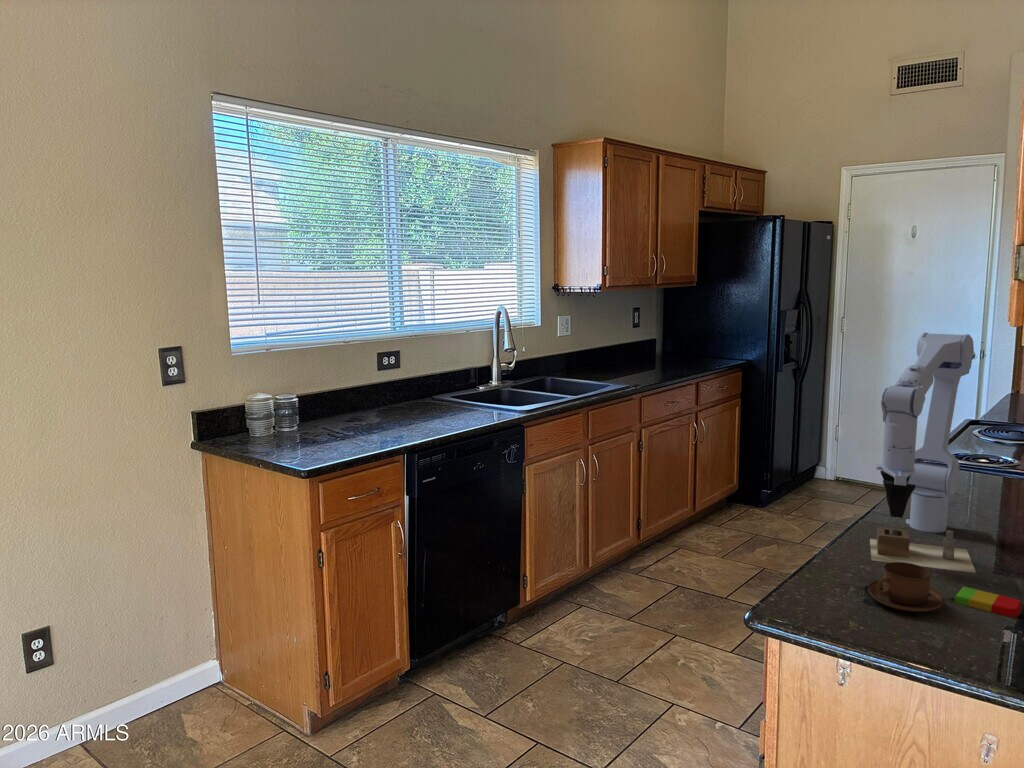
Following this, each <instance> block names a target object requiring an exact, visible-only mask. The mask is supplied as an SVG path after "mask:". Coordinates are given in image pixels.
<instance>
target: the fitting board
mask: <svg viewBox="0 0 1024 768" xmlns="http://www.w3.org/2000/svg"><path fill="white" fill-rule="evenodd" d="M896 529H897V528H894V529H890V532H889V535H896V536H897V530H896ZM945 532H946V533H945V535H946V536H945V537H943V543H942V544H943V545H942V546H939V545H938V546H937V545H931V544H929V545H928V544H919V543H913V542H910V543H909V558H904V557H895V556H887V555H878V554H877V538H876V539H875V538H869V545H870V557H871V559H870V560H871V561H873V562H874V561H875V562H880V563H881V562H882V563H892V562H904V563H910V564H915V565H918V566H921V567H924V568H930V569H940V570H948V571H955V572H965V573H972V574H977V572H976V571H977V570H976V568H975V567H974V564H973V561H972V559H971V556H970V554H969V551H968V550H967V549H965V548H957V547H956V538H954V531H953V530H946V531H945Z"/></svg>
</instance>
